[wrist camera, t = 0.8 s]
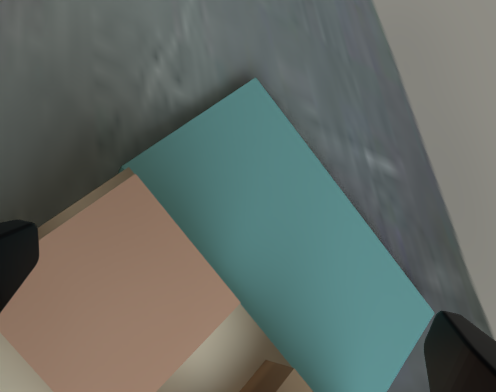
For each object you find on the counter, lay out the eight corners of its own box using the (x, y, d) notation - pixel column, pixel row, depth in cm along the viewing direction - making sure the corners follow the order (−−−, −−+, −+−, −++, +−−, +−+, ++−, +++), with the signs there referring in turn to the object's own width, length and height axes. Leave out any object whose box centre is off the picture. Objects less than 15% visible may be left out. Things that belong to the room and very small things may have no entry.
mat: (338, 441, 22) (351, 448, 21) (118, 173, 20) (121, 166, 19) (419, 312, 27) (434, 313, 26) (247, 86, 25) (255, 77, 24)
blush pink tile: (96, 425, 15) (103, 447, 12) (-22, 293, 14) (-37, 292, 12) (218, 302, 18) (240, 302, 16) (125, 189, 17) (135, 173, 15)
